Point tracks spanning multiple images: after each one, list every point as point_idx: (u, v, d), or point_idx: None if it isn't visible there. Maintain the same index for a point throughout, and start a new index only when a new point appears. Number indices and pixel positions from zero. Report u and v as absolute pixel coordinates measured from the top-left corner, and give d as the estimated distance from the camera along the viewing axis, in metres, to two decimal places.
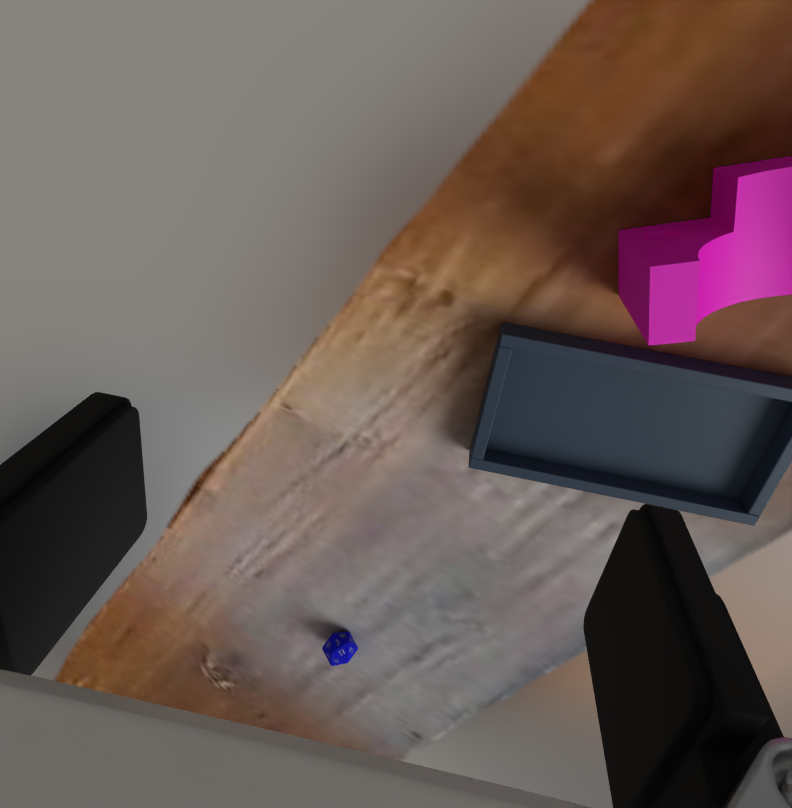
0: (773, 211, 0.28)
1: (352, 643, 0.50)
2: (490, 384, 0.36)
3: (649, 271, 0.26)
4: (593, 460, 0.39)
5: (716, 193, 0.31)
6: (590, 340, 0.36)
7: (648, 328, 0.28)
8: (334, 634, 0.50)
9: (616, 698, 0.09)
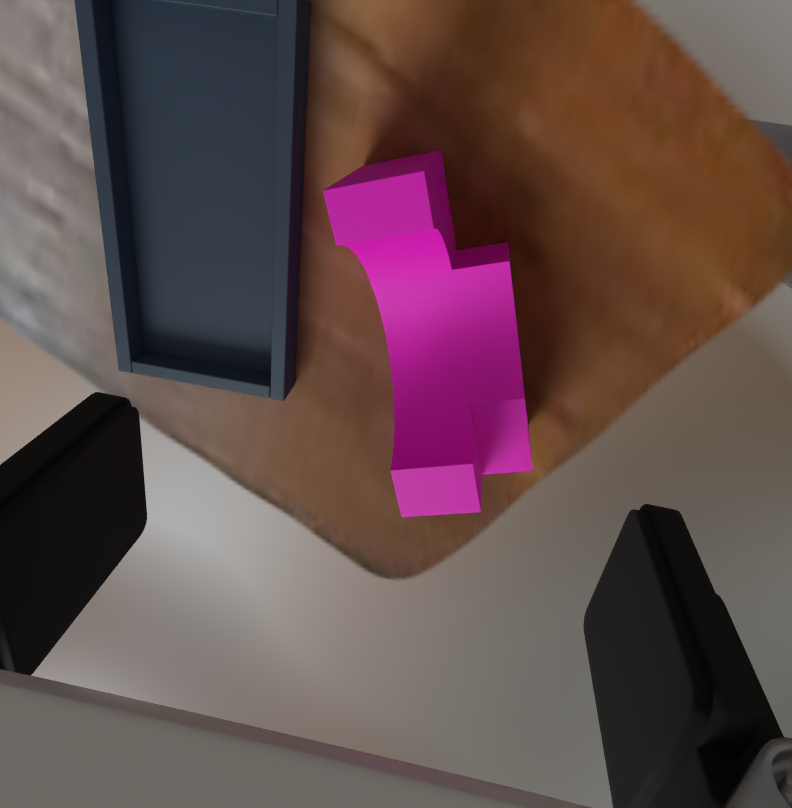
0: (471, 304, 0.27)
1: None
2: None
3: (417, 172, 0.21)
4: (141, 172, 0.29)
5: (483, 249, 0.28)
6: (303, 138, 0.28)
7: (344, 186, 0.21)
8: None
9: (616, 698, 0.09)
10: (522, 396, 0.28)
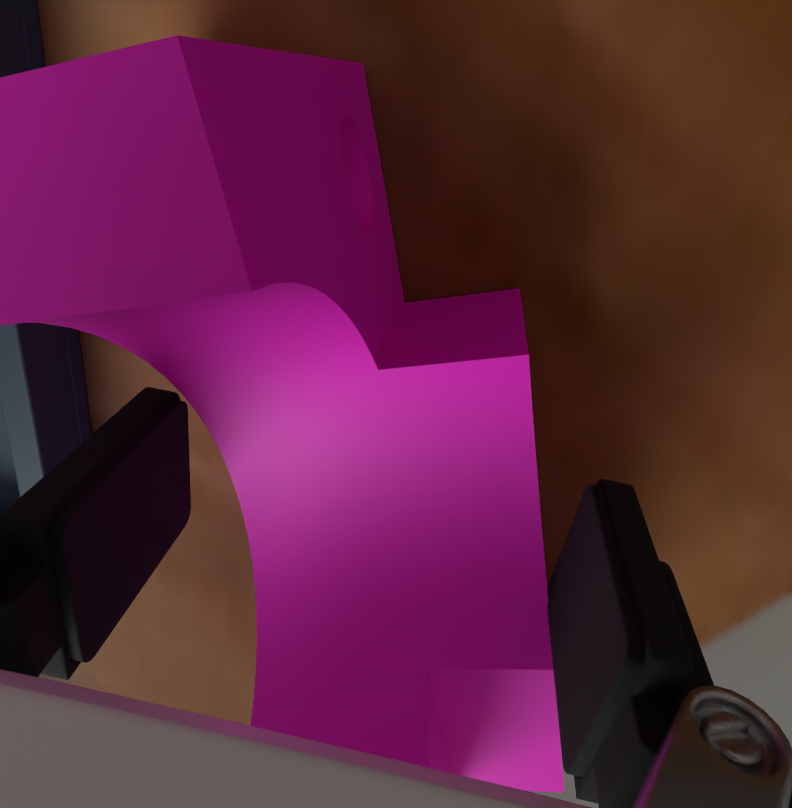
0: (431, 442, 0.11)
1: None
2: None
3: (158, 45, 0.05)
4: None
5: (463, 304, 0.12)
6: (32, 29, 0.11)
7: None
8: None
9: (569, 661, 0.10)
10: (550, 663, 0.12)
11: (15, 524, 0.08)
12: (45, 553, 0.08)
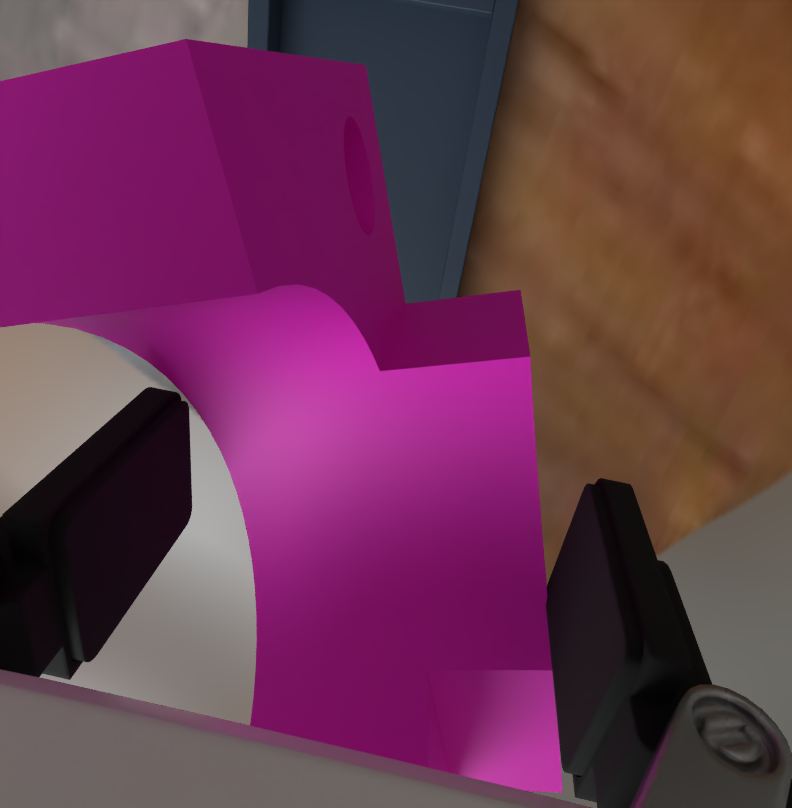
0: (432, 444, 0.11)
1: None
2: None
3: (166, 48, 0.05)
4: None
5: (463, 306, 0.12)
6: None
7: None
8: None
9: (568, 660, 0.10)
10: (549, 664, 0.12)
11: (17, 524, 0.08)
12: (47, 553, 0.08)
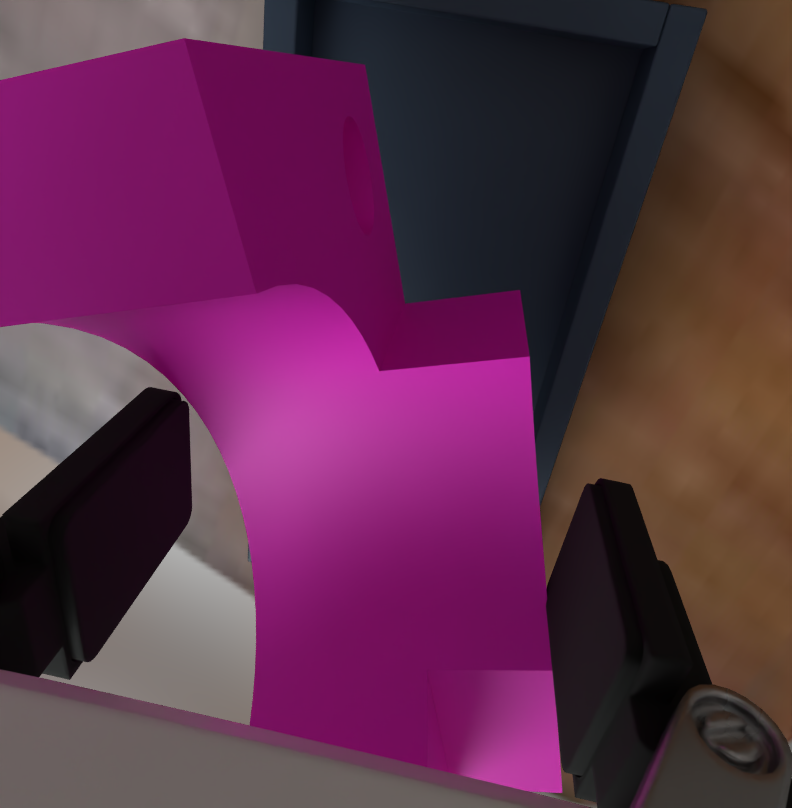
0: (432, 444, 0.11)
1: None
2: None
3: (164, 48, 0.05)
4: None
5: (463, 306, 0.12)
6: None
7: None
8: None
9: (567, 660, 0.10)
10: (548, 664, 0.12)
11: (17, 524, 0.08)
12: (47, 553, 0.08)
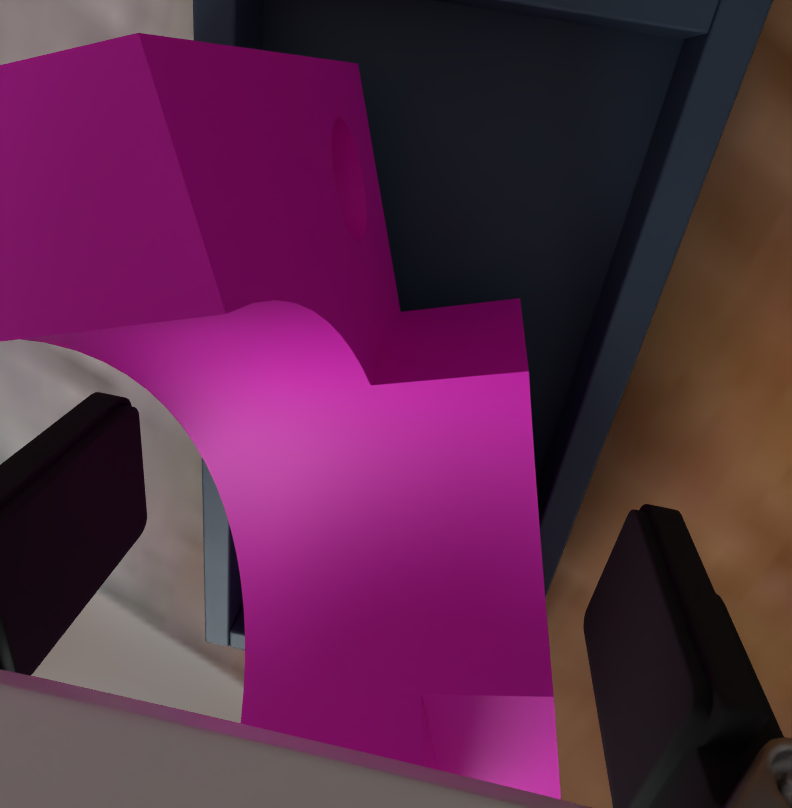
0: (427, 460, 0.11)
1: None
2: None
3: (119, 43, 0.04)
4: None
5: (460, 315, 0.12)
6: None
7: None
8: None
9: (616, 698, 0.09)
10: (548, 690, 0.11)
11: None
12: None
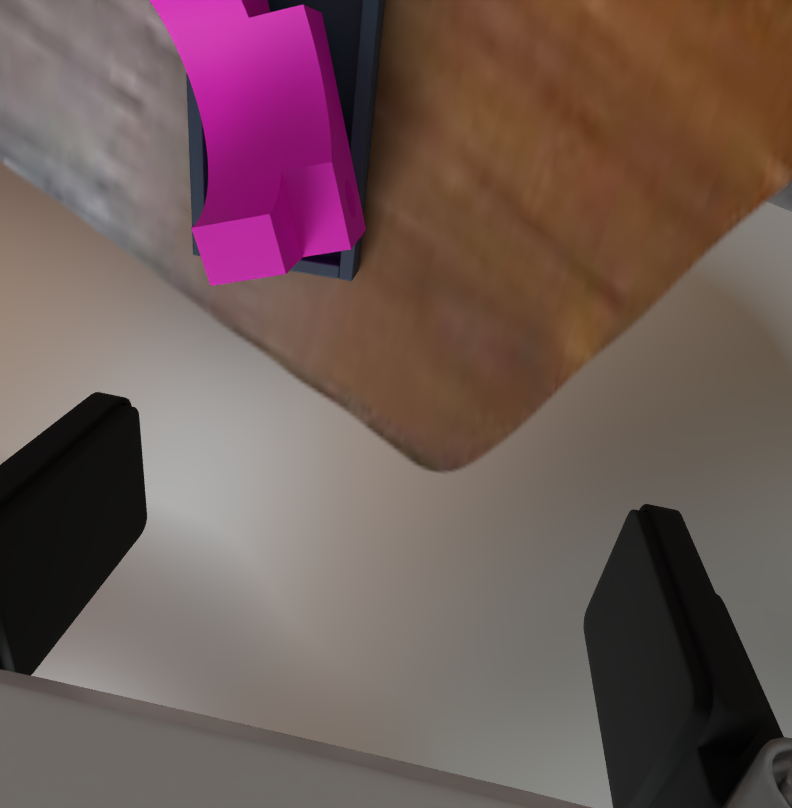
0: (277, 64, 0.27)
1: None
2: None
3: None
4: None
5: None
6: (382, 17, 0.30)
7: None
8: None
9: (616, 698, 0.09)
10: (330, 160, 0.27)
11: None
12: None
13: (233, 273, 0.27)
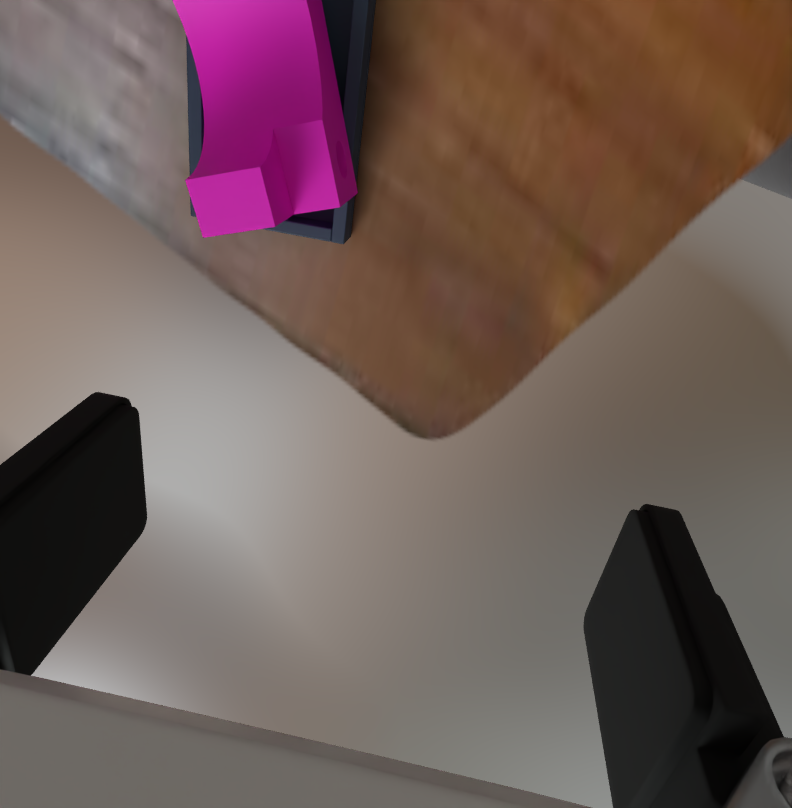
0: (271, 24, 0.28)
1: None
2: None
3: None
4: None
5: None
6: None
7: None
8: None
9: (616, 698, 0.09)
10: (321, 118, 0.28)
11: None
12: None
13: (225, 225, 0.28)
